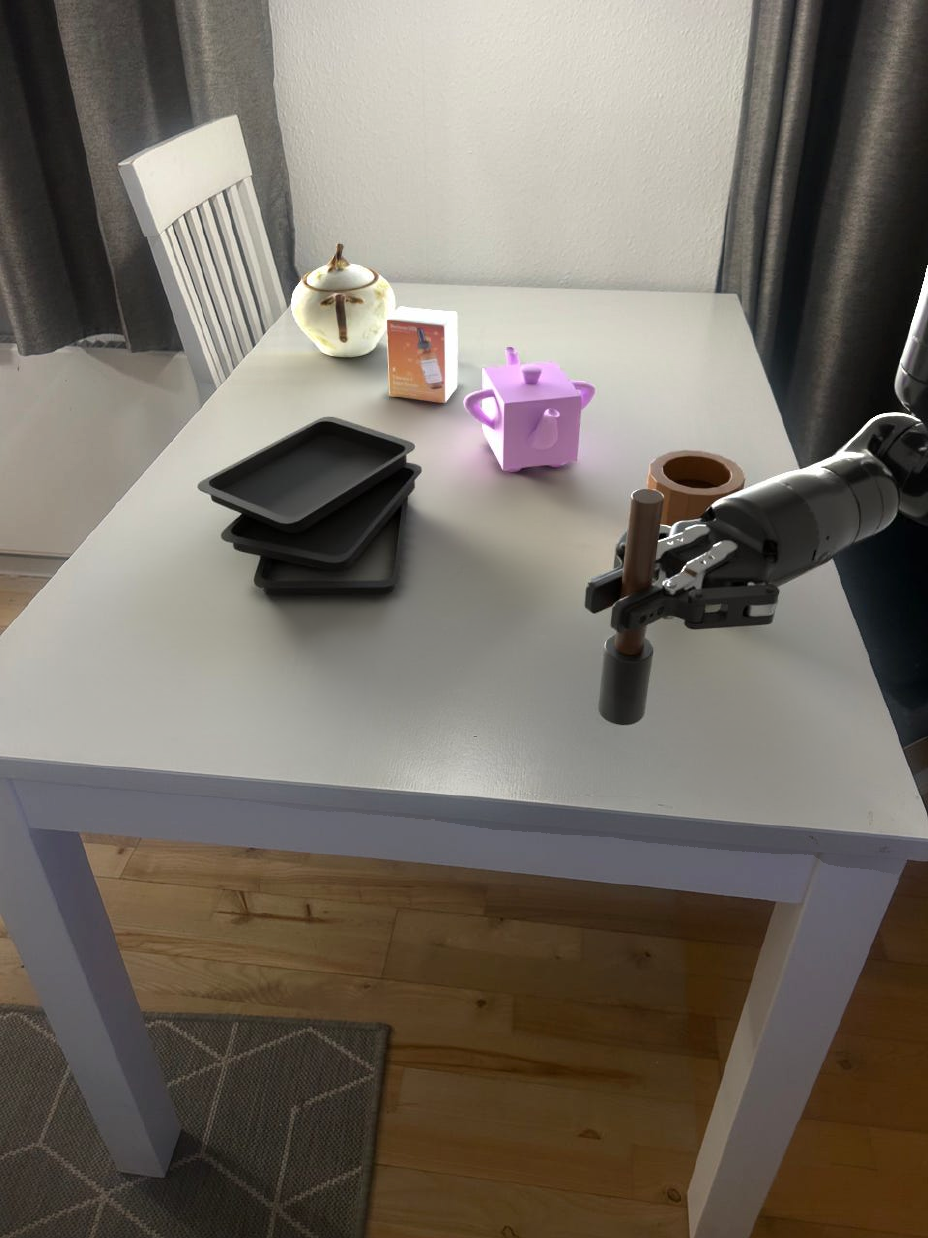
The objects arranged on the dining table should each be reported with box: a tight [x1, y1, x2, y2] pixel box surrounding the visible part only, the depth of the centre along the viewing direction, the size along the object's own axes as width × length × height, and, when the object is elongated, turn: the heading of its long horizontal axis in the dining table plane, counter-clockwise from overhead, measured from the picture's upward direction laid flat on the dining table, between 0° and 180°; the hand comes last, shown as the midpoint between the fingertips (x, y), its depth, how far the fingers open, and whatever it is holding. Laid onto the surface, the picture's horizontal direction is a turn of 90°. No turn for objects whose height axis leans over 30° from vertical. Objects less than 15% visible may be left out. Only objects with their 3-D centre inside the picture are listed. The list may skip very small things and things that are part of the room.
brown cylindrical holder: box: [645, 449, 746, 527], centre depth 85 cm, size 8×8×11 cm
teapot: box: [463, 346, 596, 473], centre depth 105 cm, size 15×13×11 cm
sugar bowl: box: [290, 242, 396, 358], centre depth 131 cm, size 20×15×15 cm
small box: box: [386, 305, 458, 404], centre depth 120 cm, size 8×6×10 cm
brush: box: [597, 488, 664, 726], centre depth 62 cm, size 3×3×18 cm
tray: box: [196, 416, 423, 596], centre depth 95 cm, size 30×23×5 cm
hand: (602, 609), depth 60 cm, fingers closed on brush, 2 cm apart
